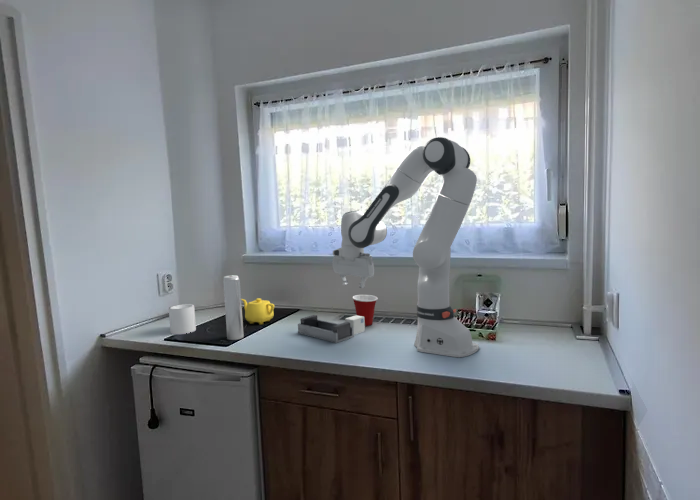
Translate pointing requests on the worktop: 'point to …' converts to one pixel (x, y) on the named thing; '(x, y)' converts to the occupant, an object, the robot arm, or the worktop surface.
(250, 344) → the worktop surface
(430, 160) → the robot arm
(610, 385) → the worktop surface
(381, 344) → the worktop surface
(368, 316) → the plastic cup
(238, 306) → the silver cylinder
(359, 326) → the block
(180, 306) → the mug
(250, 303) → the teapot
